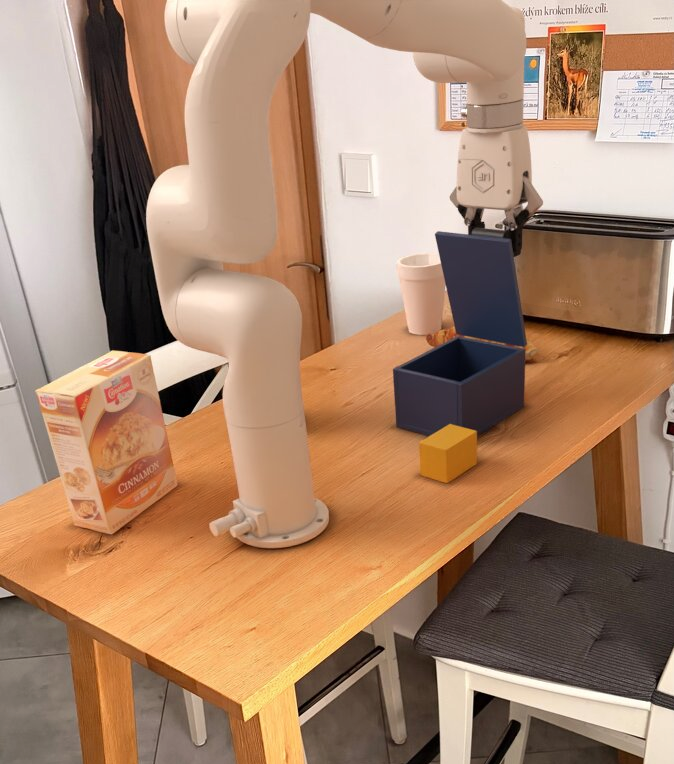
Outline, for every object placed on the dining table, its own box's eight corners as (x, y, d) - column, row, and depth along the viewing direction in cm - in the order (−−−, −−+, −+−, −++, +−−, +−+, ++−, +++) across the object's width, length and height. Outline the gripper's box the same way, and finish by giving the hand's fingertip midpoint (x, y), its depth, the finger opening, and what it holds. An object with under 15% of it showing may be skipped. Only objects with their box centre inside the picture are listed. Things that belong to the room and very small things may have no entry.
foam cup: (397, 338, 173) (393, 268, 166) (402, 322, 181) (399, 254, 173) (447, 336, 172) (446, 265, 164) (450, 320, 179) (449, 252, 172)
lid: (507, 241, 124) (529, 221, 126) (434, 233, 132) (455, 214, 134) (524, 347, 136) (543, 327, 138) (456, 334, 143) (475, 315, 146)
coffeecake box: (112, 536, 120) (74, 396, 109) (72, 526, 123) (31, 390, 112) (180, 485, 130) (152, 353, 119) (142, 478, 134) (111, 348, 123)
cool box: (462, 445, 132) (461, 384, 127) (396, 426, 140) (392, 368, 135) (524, 407, 142) (525, 348, 136) (458, 391, 149) (457, 335, 144)
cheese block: (447, 483, 123) (446, 450, 120) (420, 475, 126) (418, 442, 123) (477, 463, 127) (477, 430, 124) (450, 456, 130) (450, 423, 127)
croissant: (542, 375, 160) (552, 328, 159) (526, 367, 151) (536, 318, 150) (432, 361, 170) (440, 317, 168) (411, 353, 161) (419, 306, 159)
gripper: (427, 120, 126) (432, 255, 136) (534, 122, 116) (530, 267, 126) (460, 111, 130) (462, 242, 141) (565, 112, 120) (559, 253, 130)
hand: (494, 253), depth 133 cm, fingers closed on lid, 5 cm apart
